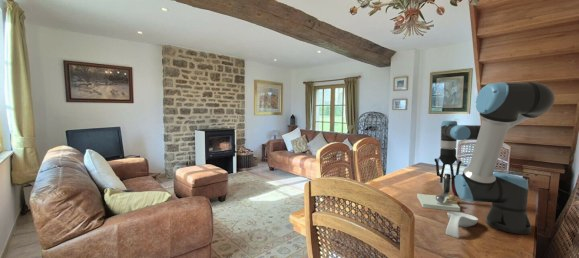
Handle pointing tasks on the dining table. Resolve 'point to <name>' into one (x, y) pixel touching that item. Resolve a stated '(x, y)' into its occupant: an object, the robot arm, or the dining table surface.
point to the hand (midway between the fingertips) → (446, 189)
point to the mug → (454, 189)
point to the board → (433, 201)
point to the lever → (445, 188)
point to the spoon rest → (459, 222)
